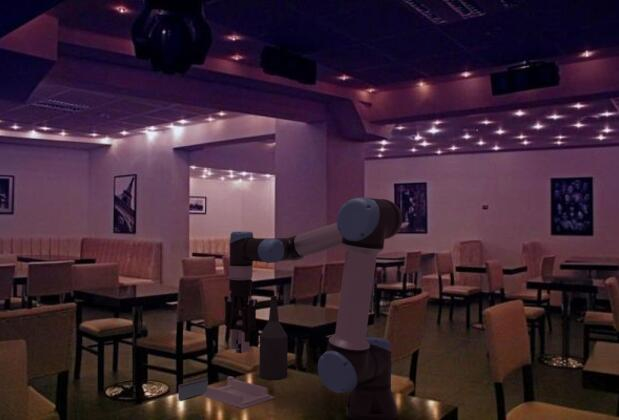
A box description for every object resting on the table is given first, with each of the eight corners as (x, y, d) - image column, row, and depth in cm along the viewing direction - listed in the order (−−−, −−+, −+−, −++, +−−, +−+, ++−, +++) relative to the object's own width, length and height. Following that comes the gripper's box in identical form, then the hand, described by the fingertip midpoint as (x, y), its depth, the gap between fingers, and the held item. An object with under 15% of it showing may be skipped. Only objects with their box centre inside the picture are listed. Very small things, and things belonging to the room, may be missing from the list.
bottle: (288, 374, 214) (288, 294, 215) (286, 381, 204) (286, 297, 205) (260, 373, 214) (261, 294, 215) (258, 381, 205) (258, 297, 206)
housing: (275, 398, 184) (275, 387, 184) (242, 408, 173) (242, 397, 173) (230, 385, 198) (230, 376, 198) (197, 395, 187) (197, 384, 187)
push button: (244, 355, 181) (246, 324, 181) (228, 353, 182) (230, 322, 182) (250, 350, 188) (252, 320, 188) (234, 349, 189) (236, 319, 189)
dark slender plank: (207, 392, 188) (208, 378, 188) (180, 400, 180) (181, 385, 180) (205, 391, 189) (205, 378, 189) (178, 399, 181) (178, 385, 181)
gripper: (268, 280, 182) (267, 352, 182) (231, 275, 194) (230, 344, 194) (251, 281, 177) (249, 356, 176) (214, 277, 188) (212, 347, 188)
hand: (239, 350), depth 185 cm, fingers closed on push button, 5 cm apart
